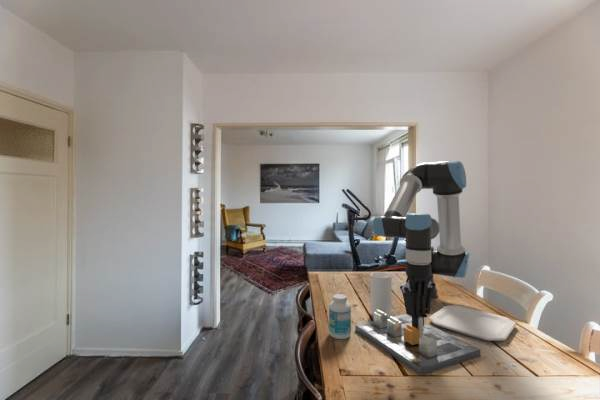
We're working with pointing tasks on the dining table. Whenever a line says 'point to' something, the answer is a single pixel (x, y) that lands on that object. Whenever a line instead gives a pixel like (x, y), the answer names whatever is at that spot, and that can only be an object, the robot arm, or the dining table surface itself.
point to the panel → (420, 357)
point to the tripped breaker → (411, 334)
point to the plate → (473, 323)
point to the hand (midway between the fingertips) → (418, 336)
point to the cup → (381, 293)
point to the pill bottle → (340, 317)
